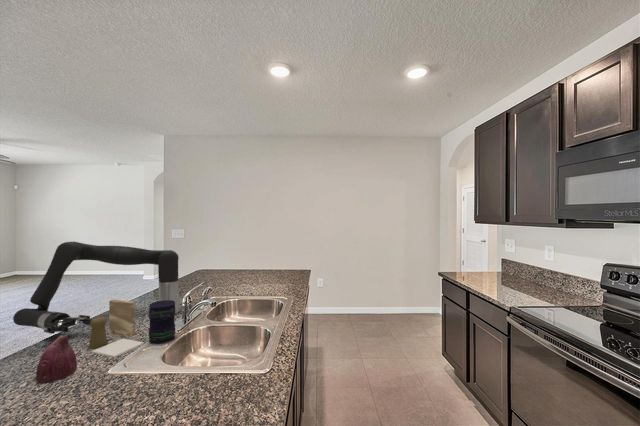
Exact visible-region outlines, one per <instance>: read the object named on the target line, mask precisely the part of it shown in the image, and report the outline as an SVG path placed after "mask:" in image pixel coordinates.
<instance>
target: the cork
mask: <svg viewBox="0 0 640 426" xmlns="http://www.w3.org/2000/svg"><path fill="white" fill-rule="evenodd" d="M106 325H107V318H106V317H105V316H99V317H94V318H93V319H91V322H90V325H89V326H90V327H91V331H90V337H89V344H88V349H90V350H96V349H98V348H101V347H103V346H106V345H108V344H109V343H108V338H107V332H106V327H105V326H106Z"/></svg>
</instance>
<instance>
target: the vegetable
mask: <svg viewBox="0 0 640 426" xmlns="http://www.w3.org/2000/svg"><path fill="white" fill-rule="evenodd" d="M77 369H78V366H77V356H76V353H75V350H74V349H73V348H72V346H71V345H70V341H69V337H68V335H67V334H66V332H62V334H61V335H59V336H58V337H57V338H56V339H55V340H54V341H53V342H52V343H50V344H49V345H48V346H47V347H46V348H45V349H44V351H43V353H42V355H41V356H40V358H39V361H38V364H37V367H36V375H35V376H36V377H35V380H36V382H37V383H40V384H48V383H51V382H55V381H58V380H61V379H65V378H67V377H69V376H71V375H73V374H74V373H75V372H76V371H77Z"/></svg>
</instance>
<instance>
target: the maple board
mask: <svg viewBox="0 0 640 426" xmlns="http://www.w3.org/2000/svg"><path fill="white" fill-rule="evenodd" d="M108 303H109V304H108V305H109V306H108V308H109V310H108V311H109V313H108V314H109V316H108V317H109V321H108V324H109V325H108V326H109V327H108V330H107V332H106V334H110V335H113V334H116V335H117V334H118V335H120V336H121V335H122V336H123V337H126V338H129V337H132V336H134V335H136V334H137V333H138V331H137V330H136V302H135V301H130V300H129V301H128V300H120V299H111V300H109V302H108ZM112 333H113V334H112Z"/></svg>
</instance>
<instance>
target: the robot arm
mask: <svg viewBox="0 0 640 426" xmlns="http://www.w3.org/2000/svg"><path fill="white" fill-rule="evenodd" d="M55 249H56V250H55V252H54V254H53V257H52V259H51V262H50V264H49V266H48V269H47V271H46V272H45V274H44V276H43V278H42V280H41V281H40V283H39V284H38V286H37V287H36V289H35V291H34V292H33V294H32V296H31V297H30V300H29V301H30V303H31V304H33V305H36V306H37V308H28V307H26V308H21V309H19V310H17V311H16V312H15V313H14V315H13V318H12V320H13V323H14V324H15V325H17V326H22V327H23V326H24V327H33V328H34V327H35V328H38V329H42V330H43V332H44V333H46V334H47V333H48V334H55V333H60V332H62V333H68V332H69V331H70V329H69V328H71V327H77V326H78V327H79V325H87V326H90V322H91V320H92V319H91V316H90V315H84V314H79V315H78V316H70V315H69V314H68V313H66V312H60V311H54V310H53V311H49V307H50V305H51V302H52V300H53V298H54V296H55V294H56V293H57V291H58V289H59V287H60V286H61V285H60V284H61V281H62V280H63V277H64V274H65V272H66V271H67V269H68V268H69V267H70V265H71V264H72V263H73V262H74V261H96V262H97V261H98V262H102V263H105V264H111V265H121V266H122V265H123V266H133V265H134V266H137V265H157V266H158V267H157V268H158V273H157V276H158V301H164V300H172V301H175V315H177V314H178V313H179V312H180V309H181V305H180V303H181V299H180V297H181V296H180V293H179V258H180V257H179V254H178V253H177V252H176V251H174V250H169V249H168V250H167V249H165V250H160V249H159V250H157V249H156V250H155V249H147V248H140V247H132V246H123V245H96V244H95V245H94V244H87V243H84V242H83V243H82V242H79V241H65V242H62V243H61V244H59V245H58V246H57V248H55Z"/></svg>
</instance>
